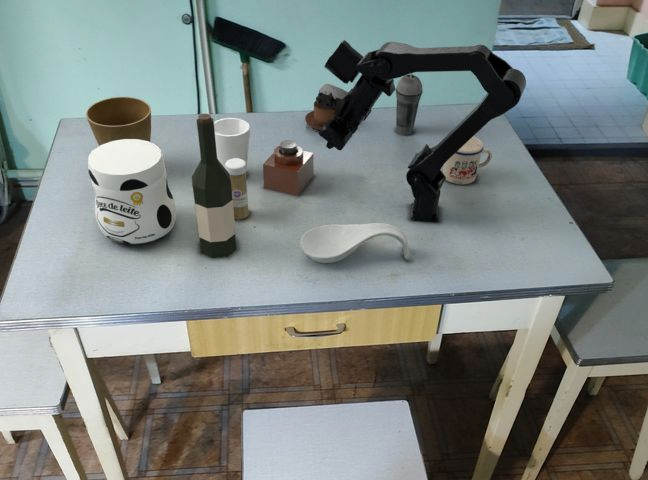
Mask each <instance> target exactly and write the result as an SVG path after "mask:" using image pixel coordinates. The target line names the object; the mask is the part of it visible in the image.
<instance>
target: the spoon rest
mask: <svg viewBox="0 0 648 480" xmlns="http://www.w3.org/2000/svg"><path fill="white" fill-rule="evenodd" d="M379 236H387V237H388V236H389V237H392V238H394V239H396V240H397V241H398V242H400V244H401V246H402V247H401V248H402V254H403V257H404V259H405V260H410V257H411V251H410V247H409V241H408V236H407V235H406V233H405V232H404V231H403V230H402V229H400V228H399V227H397V226H394V225H391V224H388V223H382V222H376V223H375V222H374V223H373V222H371V223H356V224H355V223H351V224H344V223H343V224H340V223H339V224H324V225H318V226H314V227H313V228H311V229H309V230H307V231H305V232H304V234H303V235H302V237H301V238H300V241H299V243H300V244H299V245H300V249H301V251H302V252H303V253H304V254H305V256H307V257H308V258H309V259H311V260H312V261H315V262H317V263H323V264H334V263H338V262H340V261H342V260H344V259H346V258H347V257H348V256H350V255H351V254H352V253H353V252H354V251H356V250H357V249H358V248H360V247H361V246H363V244H365V243H366V242H368V241H369V240H371V239H373V238H375V237H379Z"/></svg>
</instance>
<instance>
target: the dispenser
mask: <svg viewBox="0 0 648 480" xmlns="http://www.w3.org/2000/svg"><path fill="white" fill-rule="evenodd" d="M262 170H263V172H262V173H263V174H262V175H263V188H264V189H266V190H271V191H276V192H280V193H283V194H288V195H292V196H296V197H298V196H299V195H300V194H301V192H302V191H303V190H304V189H305V187H306V186H307V185H308V184H309V182H310V181H311V180H312V179H313V178H314V152H312V151H311V152H310V151H305V150H304V149H303V148H302V147H301V146H299V145H297V153H296V154H295V155H292V156H285V155H282V154H281V153H280V145H277V146H276V147H275V148H274V149H273V153H272V154H271V155H270V156H269V157H268V158H267V160H265V162H264V163H263V164H262Z"/></svg>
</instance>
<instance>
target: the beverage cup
mask: <svg viewBox="0 0 648 480" xmlns="http://www.w3.org/2000/svg"><path fill="white" fill-rule="evenodd" d="M423 93H424V91H423V83H422V81H421V79H420V78H419V77H418V76H416V75H415V74H413V73H410V74H408V75H405V76H402V77H400V79H399V80H398V82H397V85H396V87H395V96H396V97H395V98H396V112H395V113H396V114H395V115H396V118H395V119H396V120H395V128H396V133H397V134H399V135H402V136H408V135H411V134H412V133H413V131H414V127H415V122H416V117H417V113H418V109H419V104H420V101H421V98H422V94H423Z"/></svg>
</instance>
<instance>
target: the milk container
mask: <svg viewBox="0 0 648 480" xmlns="http://www.w3.org/2000/svg"><path fill="white" fill-rule="evenodd" d="M165 165H166V164H165V159H164V155H163V152H162V150H161V148H160V147H158V145H157V144H155V143H153V142H151V141H150V142H149V141H144V140H139V139H122V140H116V141H111V142H108V143H105V144H102V145H100V146H99V145H98V146H96V147H95V148H94V149H92V151H91V152H90V153H89V154H88V157H87V169H88V174H89V179H90V182H91V186H92V189H93V193H94V199H95V201H94V217H95V220H96V223H97V226H98V227H99V229H100V232H101V233H102V234H103V235H104V236H105V237H106V238H107V239H109V240H111V241H113V242H114V243H119V244H123V245H128V246H131V245H133V246H134V245H137V246H138V245H140V246H141V245H144V244H150V243H153V242H155V241H157V240H160V239H162V238H163V237H166V235H168V234H169V233H170V232H171V231H172V230H173V228H174V226H175V223H176V220H177V206H176V201H175V198H174V196H173V194H172V192H171V190H170V187H169V182H168V174H167V169H166V166H165Z"/></svg>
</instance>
